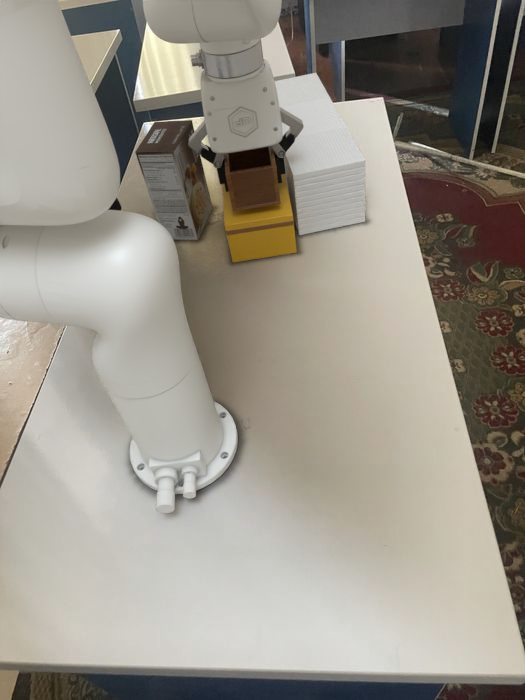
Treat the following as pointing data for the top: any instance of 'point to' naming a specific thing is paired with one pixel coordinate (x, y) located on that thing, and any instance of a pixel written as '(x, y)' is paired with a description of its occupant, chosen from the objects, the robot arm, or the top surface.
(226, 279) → the top surface
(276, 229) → the box
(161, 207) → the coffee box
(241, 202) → the wooden box
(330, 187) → the stack of papers
